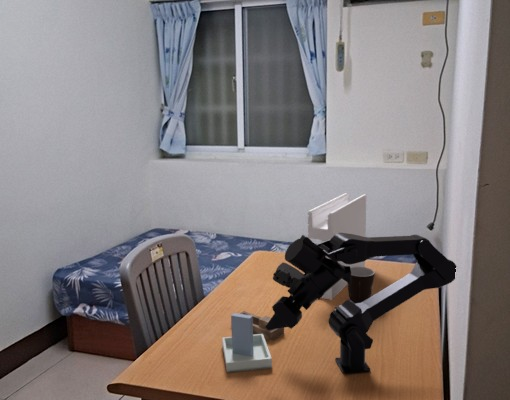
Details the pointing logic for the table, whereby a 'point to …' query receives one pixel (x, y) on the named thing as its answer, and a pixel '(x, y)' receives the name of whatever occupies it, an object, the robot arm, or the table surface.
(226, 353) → the tray
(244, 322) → the pale blue tall block
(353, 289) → the coffee mug
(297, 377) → the table surface
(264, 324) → the offcut
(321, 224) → the white piece
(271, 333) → the rack
